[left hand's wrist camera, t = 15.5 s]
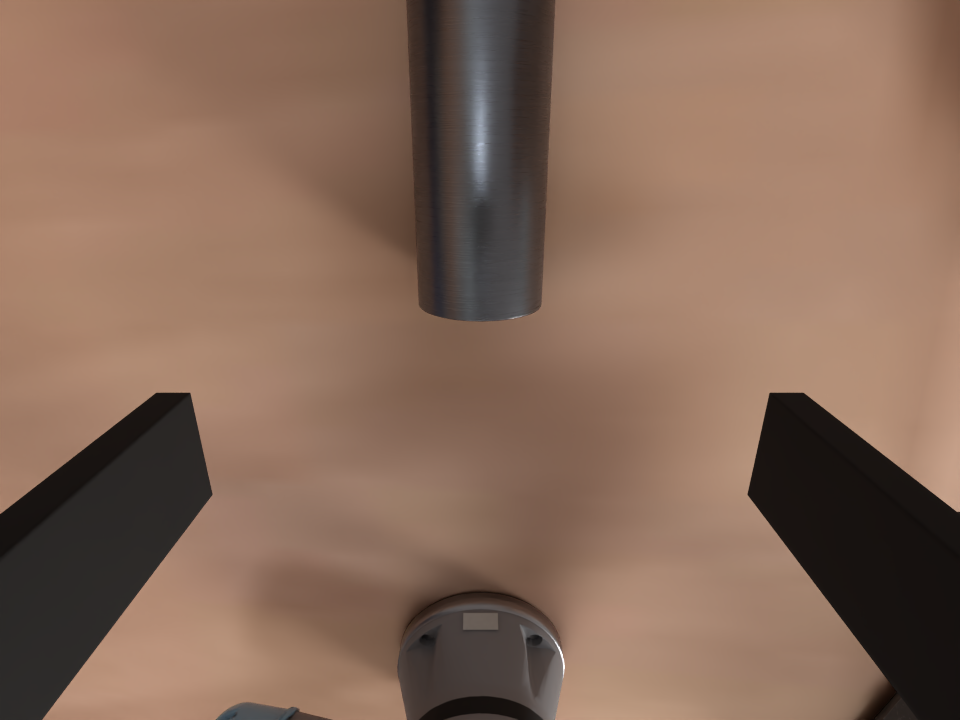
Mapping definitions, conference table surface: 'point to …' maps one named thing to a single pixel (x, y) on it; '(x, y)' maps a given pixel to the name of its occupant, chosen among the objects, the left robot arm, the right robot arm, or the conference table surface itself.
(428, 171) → the rod
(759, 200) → the conference table surface
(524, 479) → the conference table surface
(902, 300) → the conference table surface
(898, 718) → the laser sight
